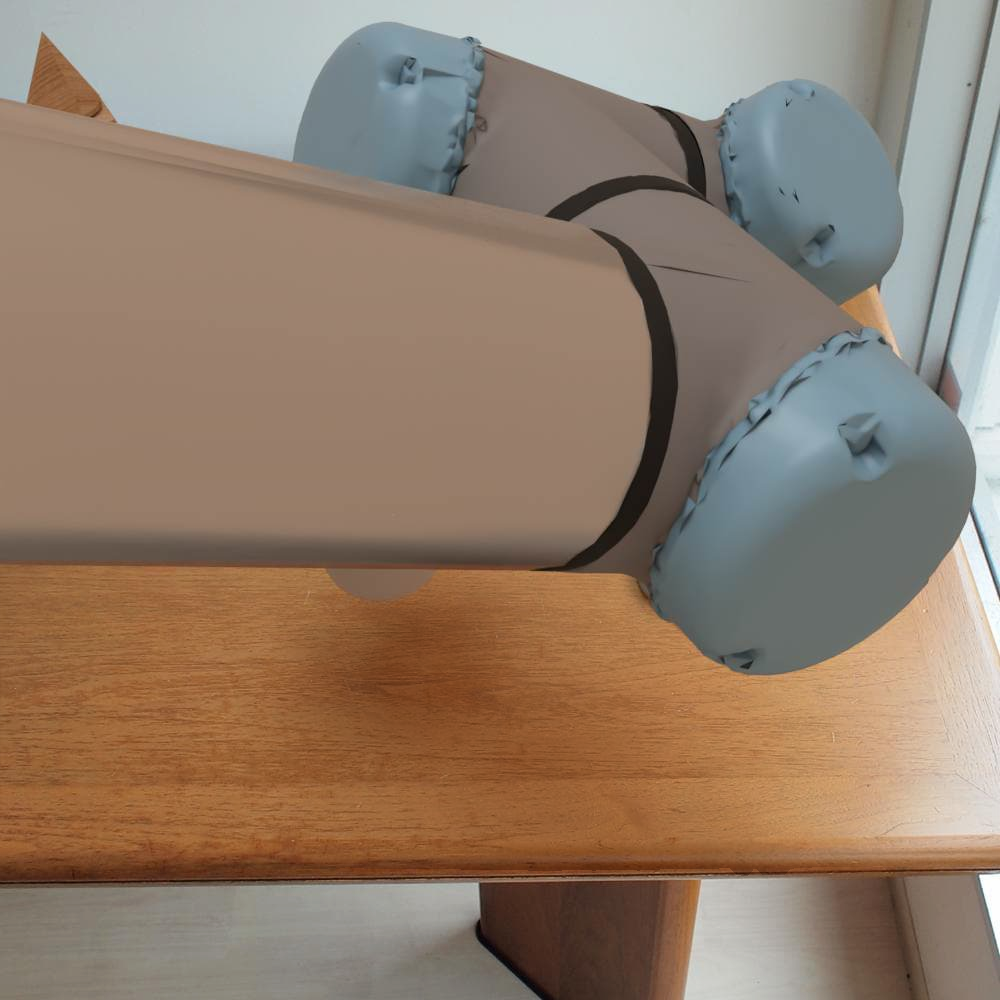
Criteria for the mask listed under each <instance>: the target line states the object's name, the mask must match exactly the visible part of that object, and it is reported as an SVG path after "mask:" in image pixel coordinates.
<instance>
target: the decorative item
mask: <svg viewBox="0 0 1000 1000" xmlns="http://www.w3.org/2000/svg"><path fill="white" fill-rule="evenodd" d="M29 84H30V85H29V90H28V94H27V98H26V103H27V104H31V105H36V106H40V107H45V108H49V109H54V110H59V111H63V112H68V113H72V114H77V115H81V116H86V117H91V118H95V119H100V120H104V121H109V122H114V123H118V121H117V120H116V118H115V117H114V115H113V114H112V112H111V111H110V109H109V108H108V106H107V105H106V103H105V101H103V99H102V98H101V95H100V94H99V93H98V92H97V91H96V90H95V88H93V87H92V85H91V84H90V83H89V82H88V81H87V80H86V79H85V77H84V76H83V75H82V74H81V72H79V70H77V68H76V67H75V66H74V65H73V64H72V63H71V62H70V61H69V60H68V58H67V57H66V56H65V55H64V54H63V53H62V52H61V51H60V50H59V48H58V47H57V45H55V44H54V42H52V40H51V39H50V38H49V37H48V36H47V35H46V34H45V32H44V31H41V34H40V37H39V43H38V48H37V52H36V57H35V61H34V66H33V71H32V75H31V79H30V83H29Z"/></svg>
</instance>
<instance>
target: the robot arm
mask: <svg viewBox="0 0 1000 1000" xmlns="http://www.w3.org/2000/svg"><path fill="white" fill-rule="evenodd" d="M897 177H898V176H897V174H896V171H895V169H894V166H893V164H892V161H891V159H890V156H889V155H888V152H887V151H886V149H885V147H884V144H883V143H882V141H881V139H880V138H879V135H878V134H877V133H876V131H875V130H874V128H873V126H871V124H870V123H869V122H868V120H867V119H866V118H865V117H864V116H863V115H862V113H861V112H860V111H859V110H858V109H857V108H856V107H855V106H854V105H853V104H852V103H850V102H849V100H848V99H846V98H845V97H844V96H842V95H841V94H840V93H838V92H837V91H835V90H834V89H832V88H830V87H828V86H827V85H824V84H822V83H819V82H818V81H817V82H816V81H814V80H810V79H804V78H795V79H791V80H780V81H776V82H773V83H772V84H769V85H768V86H766V87H764V88H762V89H761V90H758V91H757V92H756V93H753V94H752V95H749V96H748V97H746V98H743V97H742V98H739V99H738V100H737V101H735V102H731V103H730V105H729V106H728V107H725V109H724V111H723V114H721V115H720V116H719V117H718V118H713V119H707V120H702V119H700V118H697V117H693V116H691V115H687V114H686V113H682V112H680V111H675V110H673V109H670V108H666V107H663V106H659V105H651V104H648V103H644V102H641V101H637V100H634V99H631V98H628V97H626V96H623V95H620V94H617V93H614V92H611V91H610V90H609V91H608V90H607V89H604V88H600V87H598V86H595V85H592V84H589V83H586V82H583V81H582V80H577V79H575V78H572V77H570V76H567V75H565V74H561V73H558V72H556V71H553V70H549V69H547V68H544V67H541V66H540V65H536V64H534V63H530V62H527V61H525V60H521V59H520V58H516V57H514V56H511V55H508V54H505V53H502V52H500V51H496V50H494V49H491V48H489V47H486V46H482V42H481V41H480V39H479V38H477V37H473V36H469V35H468V36H464V37H461V38H459V37H456V36H452V35H447V34H445V33H440V32H435V31H431V30H427V29H423V28H420V27H415V26H411V25H409V24H404V23H401V22H398V21H379V22H376V23H370V24H368V25H365V26H363V27H361V28H358V29H357V30H355V31H354V32H353V33H351V34H350V35H348V37H346V38H345V39H344V40H343V41H342V42H341V43H340V44H339V45H338V46H337V48H336V49H335V50H333V53H331V55H330V56H329V58H328V59H327V60H326V62H325V63H324V65H323V66H322V68H321V69H320V71H319V73H318V75H317V77H316V79H315V80H314V83H313V85H312V87H311V90H310V92H309V95H308V99H307V101H306V104H305V107H304V109H303V112H302V115H301V119H300V122H299V124H298V128H297V133H296V137H295V141H294V147H293V155H292V161H291V160H288V159H283V158H279V157H273V156H269V155H264V154H260V153H255V152H250V151H246V150H241V149H237V148H234V147H233V148H232V147H228V146H223V145H218V144H213V143H209V142H205V141H201V140H195V139H191V138H186V137H182V136H177V135H173V134H169V133H165V132H159V131H156V130H155V131H154V130H150V129H146V128H140V127H135V126H132V125H127V124H123V123H118V122H117V123H114V122H109V121H104V120H100V119H95V118H91V117H86V116H81V115H77V114H72V113H68V112H63V111H59V110H54V109H49V108H45V107H40V106H36V105H31V104H27V102H21V101H18V100H17V101H16V100H12V99H7V98H3V97H0V566H67V567H69V566H77V567H79V566H80V567H81V566H82V567H84V566H85V567H159V568H160V567H162V568H163V567H164V568H165V567H167V568H173V567H174V568H179V567H180V568H246V569H247V568H248V569H249V568H251V569H253V568H256V569H257V568H263V569H325V568H335V569H424V570H436V571H439V570H440V571H513V572H514V571H520V572H521V571H522V572H523V571H525V572H526V571H527V572H556V573H568V574H612V575H613V574H616V575H617V574H618V575H619V574H621V575H624V576H629V577H631V578H633V579H635V580H636V581H638V580H639V581H640V582H642V583H643V584H644V585H645V586H646V588H647V590H648V591H649V593H650V599H649V606H650V607H651V608H652V609H653V611H654V613H655V614H656V615H657V617H658V618H659V619H660V620H662V621H664V622H669V623H673V624H674V625H675V626H676V627H677V628H678V629H679V630H680V632H681V633H683V635H684V636H685V637H686V638H687V639H688V640H689V641H690V642H691V643H692V644H693V645H694V647H696V649H697V650H698V651H699V652H700V653H701V654H702V655H703V657H706V658H708V659H709V660H711V661H713V662H715V663H717V664H719V665H721V666H726V667H727V668H728V669H729V670H730V671H731V672H734V673H739V674H743V675H747V676H776V675H777V676H778V675H784V674H789V673H793V672H798V671H802V670H805V669H807V668H810V667H813V666H816V665H819V664H821V663H823V662H826V661H828V660H831V659H833V658H836V657H837V656H839V655H841V654H843V653H845V652H847V651H848V650H850V649H852V648H853V647H855V646H857V645H859V644H860V643H862V642H863V641H865V640H866V639H868V638H870V636H872V635H873V634H875V633H876V632H878V631H879V630H880V629H882V628H883V627H884V626H885V625H887V624H888V623H889V622H890V621H892V620H893V619H894V618H895V617H896V616H897V615H899V614H900V613H901V612H902V611H903V610H904V609H905V608H907V606H908V605H909V604H910V603H911V602H912V601H913V600H914V599H915V598H916V597H917V596H918V595H919V594H920V592H921V591H922V590H923V589H924V588H925V587H927V585H928V584H929V581H930V578H931V577H932V576H933V575H934V574H935V572H936V571H937V569H938V568H939V566H940V565H941V563H942V562H943V561H944V559H945V558H946V557H947V555H948V554H949V553H950V552H951V550H952V549H953V548H954V546H955V545H956V543H957V541H958V540H959V538H960V536H961V535H962V532H963V530H964V528H965V526H966V523H967V521H968V517H969V514H970V512H971V508H972V505H973V501H974V496H975V493H976V484H977V462H976V454H975V451H974V447H973V444H972V440H971V438H970V435H969V433H968V430H967V429H966V426H965V425H964V424H963V422H962V421H961V420H960V418H959V416H958V415H957V414H956V413H955V412H954V410H953V409H952V408H951V407H950V406H949V405H948V404H947V403H946V402H945V401H944V400H943V399H942V398H941V397H940V396H939V395H938V394H937V393H936V392H935V391H934V390H933V389H932V388H931V387H930V386H929V385H928V384H927V383H926V382H925V381H924V380H923V379H922V378H921V377H920V376H919V375H918V374H917V373H916V372H915V371H914V370H913V369H912V368H911V367H910V366H909V365H908V364H907V363H906V362H905V361H904V360H903V359H902V358H901V357H900V356H899V355H898V354H897V353H896V352H894V349H893V345H892V344H891V342H889V341H888V340H886V336H885V334H883V333H882V332H881V331H880V330H878V329H877V328H875V327H871V326H864V325H863V324H861V322H859V321H858V320H857V319H855V317H853V316H852V315H850V313H848V312H847V311H846V310H844V309H843V308H841V306H842V305H843V304H845V303H847V302H849V301H850V300H852V299H853V298H855V297H857V296H858V295H860V294H862V293H864V292H865V291H867V290H869V289H871V288H872V287H874V286H875V285H877V283H879V282H881V280H882V279H883V278H884V277H885V276H886V275H887V273H888V272H889V271H890V270H891V268H892V267H893V266H894V264H895V262H896V260H897V257H898V255H899V253H900V249H901V246H902V241H903V236H904V226H905V224H904V223H905V218H904V206H903V202H902V199H901V195H900V192H899V186H898V178H897Z"/></svg>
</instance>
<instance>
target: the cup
mask: <svg viewBox="0 0 1000 1000" xmlns="http://www.w3.org/2000/svg"><path fill="white" fill-rule="evenodd" d="M324 569H325V570H326V573H327V574H328V576H329V578H330V579H331V580H332V582H333V584H335V585H336V586H337V587H338V588H339V589H341V590H342V591H343V592H345V593H346V594H348V595H350V596H352V597H354V598H357V599H361V600H364V601H370V602H389V601H395V600H398V599H402V598H405V597H408V596H409V595H412V594H414V593H416V592H417V591H419V590H420V589H421V588H423V587H424V586H425V585H426V584H428V582H429V581H430V580H431V579H432V578H433V576H434V575H435V573H436V571H437V570H424V569H335V568H324Z"/></svg>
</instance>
